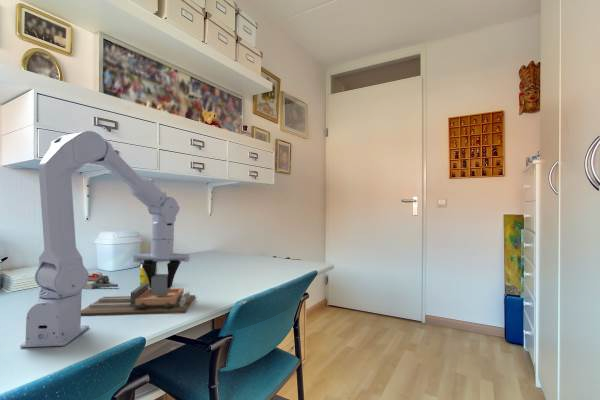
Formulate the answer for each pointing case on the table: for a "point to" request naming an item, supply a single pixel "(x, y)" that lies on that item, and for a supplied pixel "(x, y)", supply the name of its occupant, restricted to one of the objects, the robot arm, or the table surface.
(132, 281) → the table surface
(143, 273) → the supplement bottle
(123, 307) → the track
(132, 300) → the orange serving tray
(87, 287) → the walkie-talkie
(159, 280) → the block
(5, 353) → the table surface
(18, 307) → the table surface
